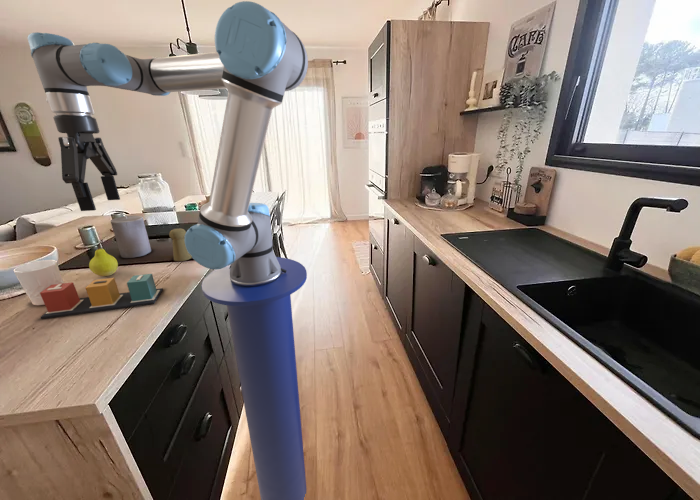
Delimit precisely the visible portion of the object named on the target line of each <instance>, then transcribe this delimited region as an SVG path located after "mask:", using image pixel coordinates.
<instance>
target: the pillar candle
mask: <svg viewBox="0 0 700 500" xmlns="http://www.w3.org/2000/svg"><path fill="white" fill-rule="evenodd" d="M110 225H111V228H112V232H113V234H114V238H115V241H116V244H117V248H118V251H119V255H120V257H121V258H123V259H133V258H139V257H143V256H146V255H147V254H150V253H151V252H152V248H151V243H150V240H149V235H148V232H147V228H146V225H145V220H144V216H142V215H125V216H119V217H115V218H111V220H110Z"/></svg>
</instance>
